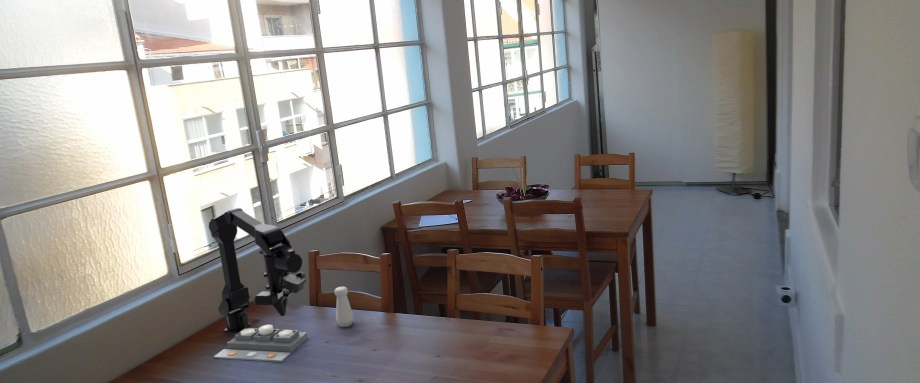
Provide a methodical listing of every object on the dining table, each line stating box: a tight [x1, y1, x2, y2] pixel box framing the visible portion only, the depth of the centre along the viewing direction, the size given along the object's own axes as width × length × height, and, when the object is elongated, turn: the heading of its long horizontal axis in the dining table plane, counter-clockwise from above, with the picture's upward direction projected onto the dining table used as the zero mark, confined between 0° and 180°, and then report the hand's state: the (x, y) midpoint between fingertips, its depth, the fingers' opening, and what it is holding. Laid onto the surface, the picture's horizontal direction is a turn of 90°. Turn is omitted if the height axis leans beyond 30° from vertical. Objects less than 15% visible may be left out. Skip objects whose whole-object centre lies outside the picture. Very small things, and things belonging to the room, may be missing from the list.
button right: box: [279, 329, 293, 337], centre depth 218 cm, size 4×4×2 cm
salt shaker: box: [334, 286, 355, 328], centre depth 228 cm, size 6×6×13 cm
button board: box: [226, 327, 309, 353], centre depth 220 cm, size 23×10×4 cm, turn 73°
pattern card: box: [213, 348, 292, 363], centre depth 212 cm, size 24×5×1 cm, turn 73°
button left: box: [241, 329, 255, 336], centre depth 222 cm, size 4×4×2 cm
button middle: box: [258, 324, 274, 336], centre depth 219 cm, size 4×4×2 cm
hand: (283, 315), depth 216 cm, fingers closed
